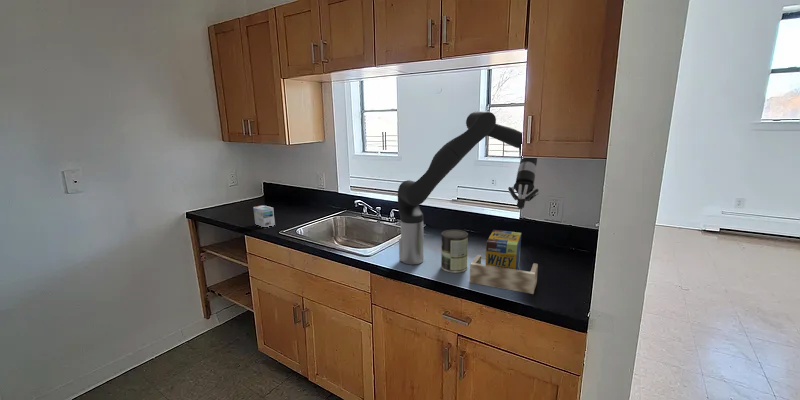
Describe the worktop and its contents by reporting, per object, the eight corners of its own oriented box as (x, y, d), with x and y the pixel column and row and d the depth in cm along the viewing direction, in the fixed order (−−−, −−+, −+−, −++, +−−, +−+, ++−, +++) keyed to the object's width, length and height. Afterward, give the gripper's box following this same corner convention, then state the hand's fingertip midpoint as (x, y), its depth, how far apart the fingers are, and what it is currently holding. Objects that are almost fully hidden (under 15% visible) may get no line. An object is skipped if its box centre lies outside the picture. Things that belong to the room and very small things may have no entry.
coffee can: (437, 270, 141) (437, 235, 138) (445, 261, 150) (446, 228, 147) (463, 274, 137) (464, 238, 134) (470, 264, 146) (471, 231, 143)
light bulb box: (275, 225, 206) (273, 207, 204) (264, 228, 201) (262, 209, 199) (265, 222, 213) (263, 204, 210) (254, 225, 208) (252, 207, 205)
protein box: (484, 283, 130) (485, 241, 127) (491, 267, 144) (493, 229, 140) (515, 287, 126) (517, 245, 123) (519, 270, 140) (522, 232, 136)
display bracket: (469, 282, 131) (470, 264, 129) (476, 272, 139) (477, 255, 137) (533, 294, 121) (534, 274, 120) (536, 282, 129) (537, 263, 128)
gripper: (509, 168, 160) (503, 201, 152) (541, 170, 154) (536, 204, 146) (511, 178, 166) (505, 211, 158) (542, 180, 160) (537, 214, 152)
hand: (520, 207), depth 152 cm, fingers closed
